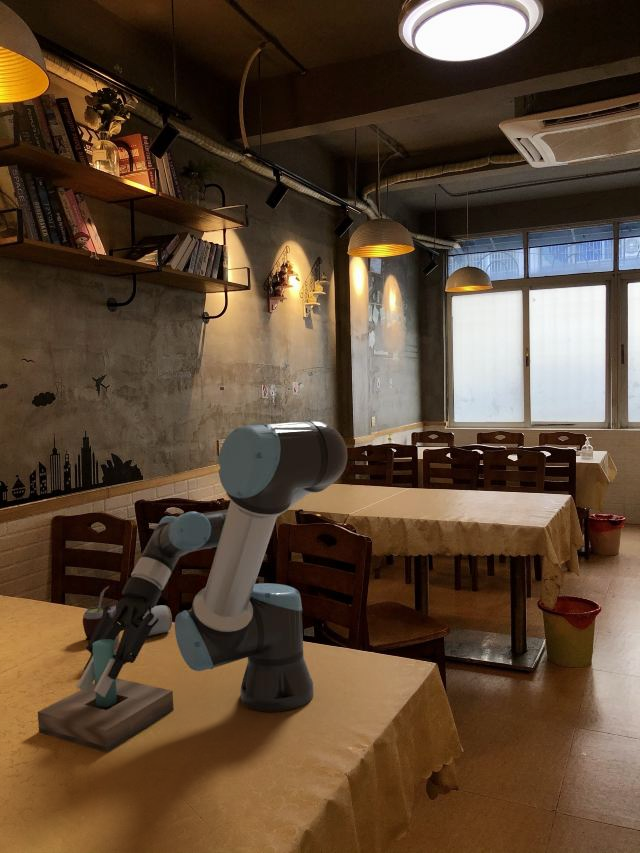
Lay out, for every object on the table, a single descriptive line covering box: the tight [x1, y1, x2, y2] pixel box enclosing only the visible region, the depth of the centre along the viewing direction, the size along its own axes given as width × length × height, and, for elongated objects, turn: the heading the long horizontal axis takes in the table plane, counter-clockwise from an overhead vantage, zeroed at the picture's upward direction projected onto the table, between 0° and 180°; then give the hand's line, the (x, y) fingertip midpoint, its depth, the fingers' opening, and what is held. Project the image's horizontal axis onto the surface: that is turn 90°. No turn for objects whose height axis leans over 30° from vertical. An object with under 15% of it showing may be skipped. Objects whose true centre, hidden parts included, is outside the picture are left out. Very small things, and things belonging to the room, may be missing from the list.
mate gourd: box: [82, 585, 110, 641], centre depth 183 cm, size 8×8×15 cm
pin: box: [92, 639, 117, 707], centre depth 137 cm, size 4×4×12 cm
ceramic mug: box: [148, 605, 173, 637], centre depth 188 cm, size 11×8×8 cm
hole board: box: [37, 677, 175, 753], centre depth 137 cm, size 18×18×4 cm
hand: (90, 691), depth 134 cm, fingers closed on pin, 4 cm apart
